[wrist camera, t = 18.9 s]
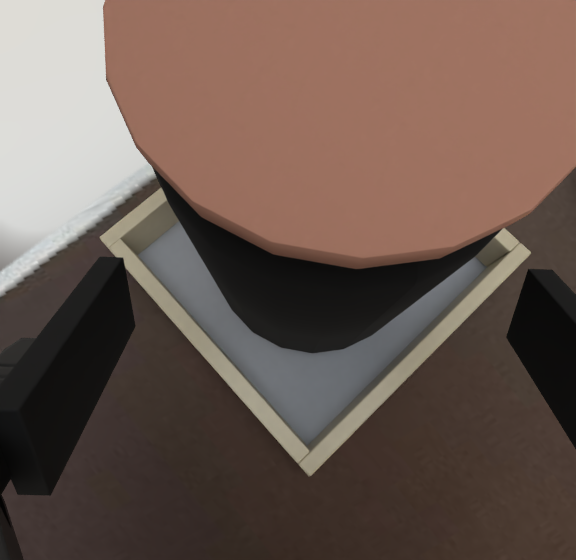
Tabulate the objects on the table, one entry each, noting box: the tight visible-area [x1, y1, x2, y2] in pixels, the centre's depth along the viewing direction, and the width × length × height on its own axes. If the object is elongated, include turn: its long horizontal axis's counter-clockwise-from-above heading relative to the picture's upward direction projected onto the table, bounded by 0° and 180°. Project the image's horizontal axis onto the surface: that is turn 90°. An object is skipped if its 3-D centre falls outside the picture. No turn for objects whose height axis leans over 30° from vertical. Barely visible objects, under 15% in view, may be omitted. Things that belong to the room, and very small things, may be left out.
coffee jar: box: [103, 0, 576, 353], centre depth 18 cm, size 11×11×18 cm
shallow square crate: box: [100, 187, 531, 476], centre depth 26 cm, size 16×16×4 cm
